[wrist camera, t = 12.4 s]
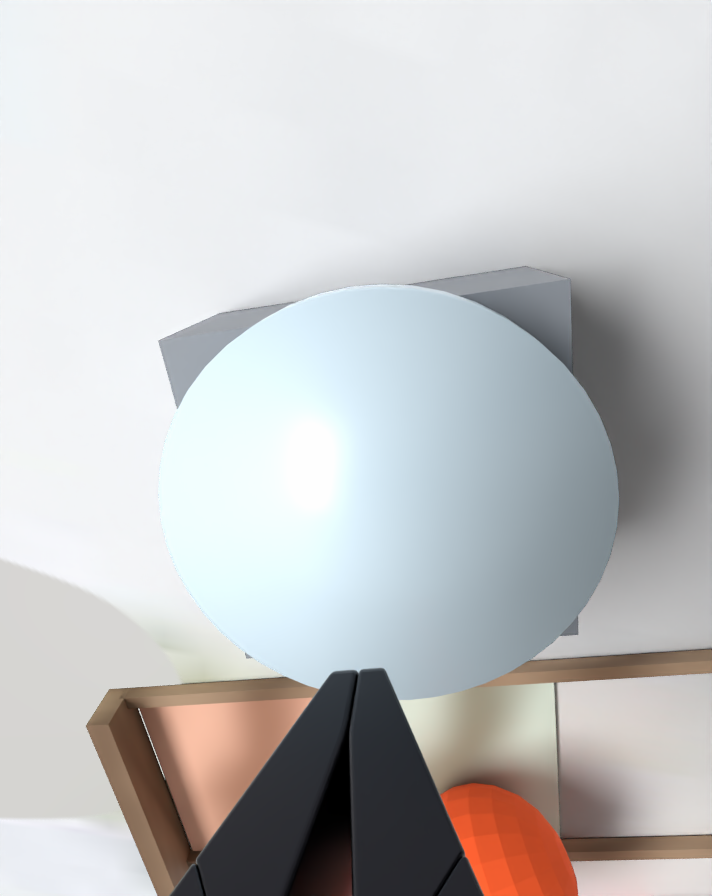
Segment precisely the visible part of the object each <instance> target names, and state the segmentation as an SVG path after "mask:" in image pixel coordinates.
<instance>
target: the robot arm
mask: <svg viewBox="0 0 712 896" xmlns="http://www.w3.org/2000/svg"><path fill="white" fill-rule="evenodd" d="M196 864H197V865H196ZM196 864H192V865H191V866H190V867H189V869H188V870H187V872H186V873H185V874H184V876H183V877H182V879H181V880H180V881H179V883H178V884H177V885H176V887H175V888H174V890H173V891H172V892H171V894H170V895H169V896H484V894H483V891H482V889H481V887H480V885H479V883H478V880H477V878H476V876H475V874H474V871H473V869H472V867H471V864H470V862H469V860H468V858H467V857H466V856H465V851H464V849H463V847H462V844H461V842H460V840H459V837H458V835H457V833H456V831H455V828H454V826H453V824H452V821H451V819H450V817H449V814H448V812H447V810H446V808H445V805H444V803H443V801H442V798H441V796H440V794H439V792H438V789H437V787H436V785H435V782H434V780H433V778H432V775H431V773H430V771H429V769H428V766H427V764H426V762H425V759H424V757H423V755H422V753H421V750H420V748H419V746H418V743H417V741H416V739H415V736H414V734H413V732H412V730H411V727H410V725H409V723H408V720H407V718H406V716H405V713H404V711H403V709H402V707H401V704H400V702H399V700H398V697H397V695H396V693H395V691H394V688H393V686H392V684H391V681H390V679H389V677H388V674H387V672H386V670H385V669H384V668H369V669H361V670H360V671H359V673H358V672H357V671H356V670H340V671H334V672H332V673H331V674H330V675H329V676H328V678H327V679H326V680H325V682H324V683H323V684H322V686H321V687H320V689H319V690H318V691H317V693H316V694H315V695H314V697H313V698H312V700H311V701H310V702H309V704H308V705H307V707H306V708H305V709H304V711H303V712H302V713H301V715H300V716H299V718H298V719H297V720H296V722H295V723H294V724H293V726H292V727H291V729H290V730H289V731H288V733H287V734H286V735H285V737H284V738H283V740H282V741H281V742H280V744H279V745H278V747H277V748H276V749H275V751H274V752H273V753H272V755H271V756H270V758H269V759H268V760H267V762H266V763H265V764H264V766H263V767H262V769H261V770H260V771H259V773H258V774H257V775H256V777H255V778H254V780H253V781H252V782H251V784H250V785H249V787H248V788H247V789H246V791H245V792H244V793H243V795H242V796H241V798H240V799H239V800H238V802H237V803H236V804H235V806H234V807H233V809H232V810H231V811H230V813H229V814H228V815H227V817H226V818H225V820H224V821H223V822H222V824H221V825H220V827H219V828H218V829H217V831H216V832H215V833H214V835H213V836H212V838H211V839H210V840H209V842H208V843H207V844H206V846H205V847H204V849H203V850H202V851H201V853H200V854H199V855H198V857H197V858H196Z"/></svg>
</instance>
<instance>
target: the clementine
mask: <svg viewBox="0 0 712 896" xmlns="http://www.w3.org/2000/svg"><path fill="white" fill-rule="evenodd" d="M440 796H441V798H442V801H443V803H444V805H445V808H446V810H447V812H448V814H449V817H450V819H451V821H452V824H453V826H454V828H455V831H456V833H457V835H458V837H459V840H460V842H461V844H462V847H463V849H464V851H465V856H466V857H467V858H468V860H469V862H470V864H471V867H472V869H473V871H474V874H475V876H476V878H477V880H478V883H479V885H480V887H481V889H482V891H483V894H484V896H578V889H577V881H576V877H575V873H574V870H573V867H572V865H571V862H570V859H569V857H568V854H567V852H566V850H565V847H564V845H563V843H562V841H561V839H560V837H559V835H558V834H557V832H556V831H555V830H554V829H553V827H552V826H551V825H550V824H549V822H548V821H547V820H546V819H545V818H544V816H543V815H542V814H541V813H540V812H539V810H538V809H536V808H535V807H534V806H532V805H531V804H530V803H528V802H527V801H526V800H524V799H523V798H522V797H520V796H519V795H517V794H514V793H512V792H510V791H507V790H505V789H502V788H500V787H497V786H495V785H487V784H478V783H471V784H466V785H461V786H456V787H452V788H451V789H449V790H447V791H445V792H444V793H442V794H440Z"/></svg>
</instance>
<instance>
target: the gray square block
mask: <svg viewBox="0 0 712 896" xmlns="http://www.w3.org/2000/svg"><path fill="white" fill-rule="evenodd" d="M408 285H414V286H419V287H424V288H430V289H435V290H440V291H445V292H448V293H451V294H454V295H457V296H460V297H463V298H466V299H469V300H472V301H475V302H477V303H479V304H481V305H483V306H485V307H487V308H489V309H491V310H493V311H495V312H497V313H499V314H501V315H503V316H505V317H506V318H508V319H509V320H510V321H512V322H513V323H515V324H516V325H518V326H519V327H521V328H522V329H524V330H525V331H526V332H528V333H529V334H530V335H532V336H533V337H534V338H535V339H537V340H538V341H539V342H540V343H541V344H543V345H544V346H545V347H546V348H547V349H548V350H549V351H550V352H551V353H552V354H553V355H554V356H556V357H557V358H558V359H559V360H560V361H561V362H562V363H563V364H564V365H565V366H566V367H567V369H568V370H569V371H570V372H571V374H572V375H573V371H572V324H571V279H569V278H565V277H562V276H558V275H555V274H551V273H548V272H544V271H541V270H537V269H533V268H530V267H526V266H525V267H518V268H512V269H505V270H499V271H492V272H486V273H479V274H473V275H466V276H460V277H453V278H447V279H440V280H434V281H427V282H421V283H414V284H408ZM297 302H298V301H297ZM293 303H295V302H291V303H284V304H278V305H271V306H265V307H258V308H252V309H245V310H239V311H232V312H226V313H219V314H217V315H215V316H212V317H210V318H208V319H206V320H204V321H201V322H199V323H197V324H195V325H192V326H190V327H188V328H186V329H183V330H181V331H179V332H177V333H174V334H172V335H170V336H168V337H165V338H163V339H161V340H159V345H160V348H161V352H162V356H163V359H164V363H165V366H166V370H167V374H168V377H169V381H170V384H171V388H172V392H173V395H174V399H175V402H176V406H177V409H178V408H179V406H180V404H181V402H182V400H183V398H184V396H185V394H186V393H187V391H188V389H189V388H190V387H191V385H192V384H193V383H194V381H195V380H196V378H197V377H198V376H199V374H200V373H201V372H202V370H203V369H204V368H205V366H206V365H207V364H208V363H209V362H210V361H211V360H212V359H213V358H214V357H215V356H216V355H217V354H218V353H219V352H220V351H221V350H222V349H223V348H224V347H225V346H226V345H228V344H229V343H230V342H232V341H233V340H234V339H236V338H237V337H238V336H240V335H241V334H242V333H244V332H245V331H246V330H248V329H249V328H251V327H252V326H253V325H255V324H257V323H258V322H260V321H261V320H263V319H265V318H266V317H268V316H270V315H272V314H274V313H276V312H277V311H279V310H281V309H283V308H285V307H287V306H288V305H290V304H293ZM567 635H578V616H577V617H576V618H575V620H574V621H573V622H572V623H571V625H570V626H569V627H568V628H567V629H566V630H565V631H564V632H563V633H562V634H561V635H560V636H567ZM245 655H246V658H252V657H251V656H250V655H248V654H247V653H245Z"/></svg>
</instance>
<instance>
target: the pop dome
mask: <svg viewBox="0 0 712 896" xmlns="http://www.w3.org/2000/svg"><path fill="white" fill-rule="evenodd" d="M158 495H159V506H160V516H161V523H162V527H163V532H164V536H165V540H166V544H167V547H168V550H169V553H170V555H171V558H172V560H173V563H174V566H175V568H176V570H177V572H178V574H179V576H180V578H181V580H182V581H183V583H184V585H185V587H186V589H187V591H188V592H189V594H190V595H191V597H192V598H193V599H194V601H195V602H196V604H197V605H198V606H199V608H200V609H201V611H202V612H203V613H204V614H205V616H206V617H207V618H208V619H209V620H210V621H211V622H212V623H213V624H214V625H215V627H216V628H217V629H218V630H219V631H220V632H221V633H222V634H223V635H225V636H226V637H227V638H228V639H229V640H230V641H231V642H233V643H234V644H235V645H236V646H237V647H238V648H239V649H241V650H242V651H244V652H245V653H247V654H248V655H250V656H251V657H252V658H254V659H255V660H257V661H258V662H260V663H261V664H263V665H265V666H267V667H269V668H270V669H272V670H274V671H276V672H278V673H279V674H281V675H283V676H286V677H288V678H290V679H293V680H295V681H298V682H300V683H302V684H305V685H307V686H310V687H314V688H317V689H320V687H321V686H322V684H323V683H324V682H325V680H326V679H327V678H328V676H329V675H330V674H331V673H332V672H334V671H340V670H356V671H357V672H358V673H359V671H360V670H361V669H369V668H384V669H385V670H386V672H387V674H388V677H389V679H390V681H391V684H392V686H393V688H394V691H395V693H396V695H397V697H398V700H414V699H423V698H432V697H438V696H442V695H447V694H452V693H456V692H461V691H464V690H467V689H470V688H473V687H476V686H479V685H482V684H485V683H487V682H489V681H492V680H494V679H496V678H498V677H500V676H502V675H505V674H507V673H509V672H511V671H512V670H514V669H516V668H517V667H519V666H521V665H522V664H524V663H526V662H527V661H529V660H531V659H532V658H533V657H535V656H536V655H537V654H539V653H540V652H541V651H542V650H544V649H545V648H546V647H547V646H549V645H550V644H551V643H553V642H554V641H555V640H556V639H557V638H558V637H559V636H560V635H561V634H562V633H563V632H564V631H565V630H566V629H567V628H568V627H569V626H570V625H571V623H572V622H573V621H574V620H575V618H576V617H577V616H578V614H579V613H580V612H581V610H582V609H583V608H584V607H585V605H586V604H587V603H588V601H589V599H590V597H591V596H592V594H593V592H594V590H595V589H596V587H597V585H598V583H599V582H600V580H601V577H602V575H603V572H604V570H605V567H606V565H607V562H608V560H609V557H610V555H611V551H612V547H613V542H614V538H615V534H616V530H617V521H618V509H619V490H618V475H617V469H616V464H615V460H614V455H613V451H612V447H611V443H610V440H609V438H608V435H607V433H606V430H605V428H604V425H603V423H602V420H601V418H600V415H599V414H598V412H597V410H596V409H595V407H594V405H593V403H592V402H591V400H590V398H589V397H588V395H587V393H586V391H585V390H584V388H583V387H582V386H581V385H580V383H579V382H578V381H577V380H576V378H575V377H574V376H573V375H572V374H571V372H570V371H569V370H568V369H567V367H566V366H565V365H564V364H563V363H562V362H561V361H560V360H559V359H558V358H557V357H556V356H554V355H553V354H552V353H551V352H550V351H549V350H548V349H547V348H546V347H545V346H544V345H543V344H541V343H540V342H539V341H538V340H537V339H535V338H534V337H533V336H532V335H530V334H529V333H528V332H526V331H525V330H524V329H522V328H521V327H519V326H518V325H516V324H515V323H513V322H512V321H510V320H509V319H508V318H506V317H505V316H503V315H501V314H499V313H497V312H495V311H493V310H491V309H489V308H487V307H485V306H483V305H481V304H479V303H477V302H475V301H472V300H469V299H466V298H463V297H460V296H457V295H454V294H451V293H448V292H445V291H440V290H435V289H430V288H424V287H419V286H414V285H395V284H374V285H362V286H351V287H346V288H341V289H337V290H332V291H328V292H324V293H319V294H317V295H314V296H311V297H309V298H306V299H303V300H301V301H298V302H295V303H293V304H290V305H288V306H287V307H285V308H283V309H281V310H279V311H277V312H276V313H274V314H272V315H270V316H268V317H266V318H265V319H263V320H261V321H260V322H258V323H257V324H255V325H253V326H252V327H251V328H249V329H248V330H246V331H245V332H244V333H242V334H241V335H240V336H238V337H237V338H236V339H234V340H233V341H232V342H230V343H229V344H228V345H226V346H225V347H224V348H223V349H222V350H221V351H220V352H219V353H218V354H217V355H216V356H215V357H214V358H213V359H212V360H211V361H210V362H209V363H208V364H207V365H206V366H205V368H204V369H203V370H202V372H201V373H200V374H199V376H198V377H197V378H196V380H195V381H194V383H193V384H192V385H191V387H190V388H189V389H188V391H187V393H186V394H185V396H184V398H183V400H182V402H181V404H180V406H179V408H178V409H177V411H176V413H175V415H174V418H173V420H172V423H171V426H170V429H169V432H168V434H167V437H166V440H165V444H164V449H163V454H162V459H161V464H160V473H159V494H158Z"/></svg>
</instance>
